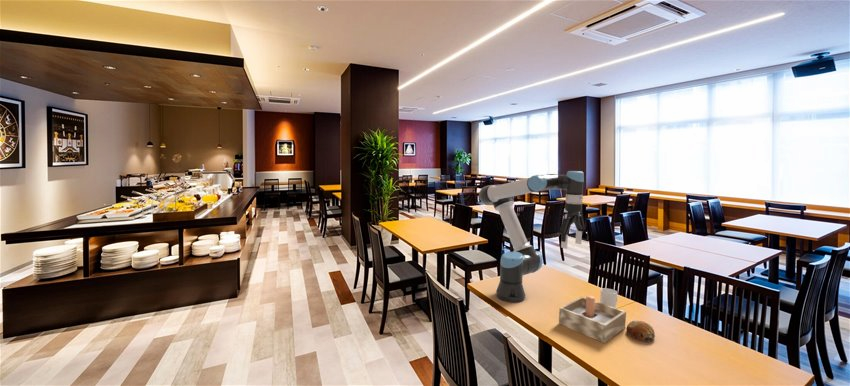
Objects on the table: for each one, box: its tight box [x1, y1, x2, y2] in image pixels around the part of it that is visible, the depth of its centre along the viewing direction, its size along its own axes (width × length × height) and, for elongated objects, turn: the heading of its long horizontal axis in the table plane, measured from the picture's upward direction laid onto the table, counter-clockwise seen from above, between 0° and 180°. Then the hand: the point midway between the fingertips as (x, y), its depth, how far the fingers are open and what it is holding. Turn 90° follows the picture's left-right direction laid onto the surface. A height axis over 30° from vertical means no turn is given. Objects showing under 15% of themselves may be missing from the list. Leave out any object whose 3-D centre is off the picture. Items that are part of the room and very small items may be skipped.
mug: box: [599, 287, 618, 308], centre depth 160 cm, size 10×7×12 cm, turn 116°
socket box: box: [558, 296, 627, 344], centre depth 149 cm, size 20×20×8 cm
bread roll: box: [626, 320, 656, 343], centre depth 141 cm, size 10×10×8 cm
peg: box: [585, 295, 596, 318], centre depth 151 cm, size 4×4×12 cm
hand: (571, 245), depth 164 cm, fingers open, 13 cm apart
